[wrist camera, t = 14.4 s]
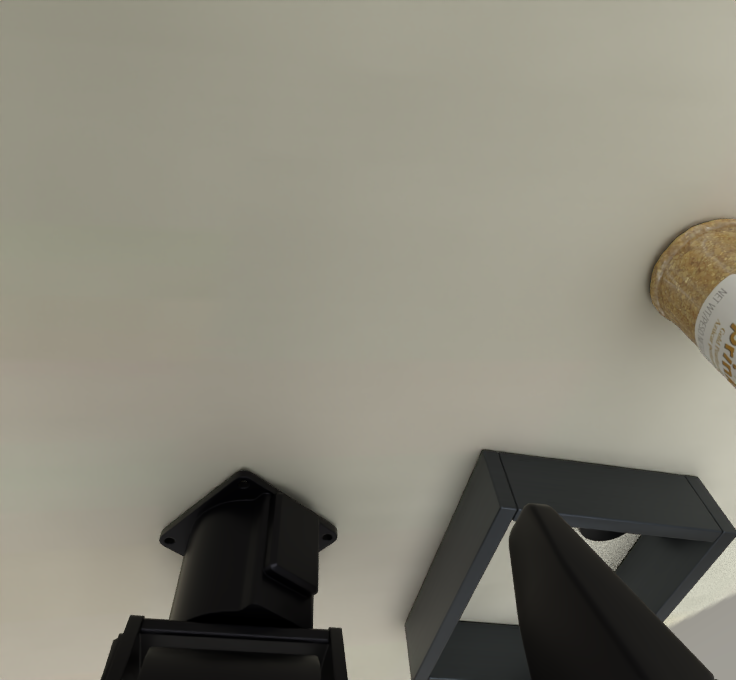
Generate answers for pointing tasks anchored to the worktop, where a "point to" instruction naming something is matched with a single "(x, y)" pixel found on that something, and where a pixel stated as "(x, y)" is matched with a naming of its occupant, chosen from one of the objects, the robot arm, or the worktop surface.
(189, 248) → the worktop surface
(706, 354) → the sprinkles bottle
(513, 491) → the rectangular frame
